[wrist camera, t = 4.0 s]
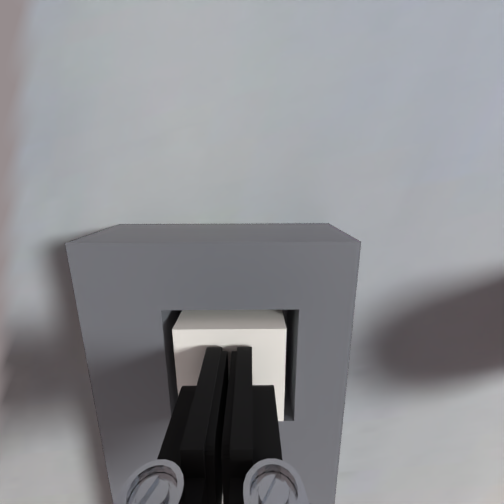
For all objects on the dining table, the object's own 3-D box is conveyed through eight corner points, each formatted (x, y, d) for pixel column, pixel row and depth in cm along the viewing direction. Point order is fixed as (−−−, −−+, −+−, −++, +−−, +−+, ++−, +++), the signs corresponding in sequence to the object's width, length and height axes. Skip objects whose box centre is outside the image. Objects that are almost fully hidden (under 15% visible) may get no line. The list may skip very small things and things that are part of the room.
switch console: (112, 224, 13) (54, 243, 9) (328, 223, 13) (361, 241, 9) (163, 598, 20) (143, 696, 16) (302, 596, 20) (314, 694, 16)
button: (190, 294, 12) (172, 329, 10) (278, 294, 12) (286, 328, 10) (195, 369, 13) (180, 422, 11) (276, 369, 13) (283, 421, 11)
